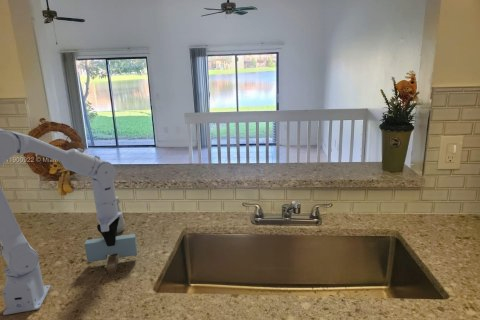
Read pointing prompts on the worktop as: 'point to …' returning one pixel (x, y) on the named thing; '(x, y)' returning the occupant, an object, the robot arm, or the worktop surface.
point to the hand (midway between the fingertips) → (111, 243)
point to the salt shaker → (121, 220)
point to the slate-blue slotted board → (111, 248)
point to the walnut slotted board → (112, 264)
